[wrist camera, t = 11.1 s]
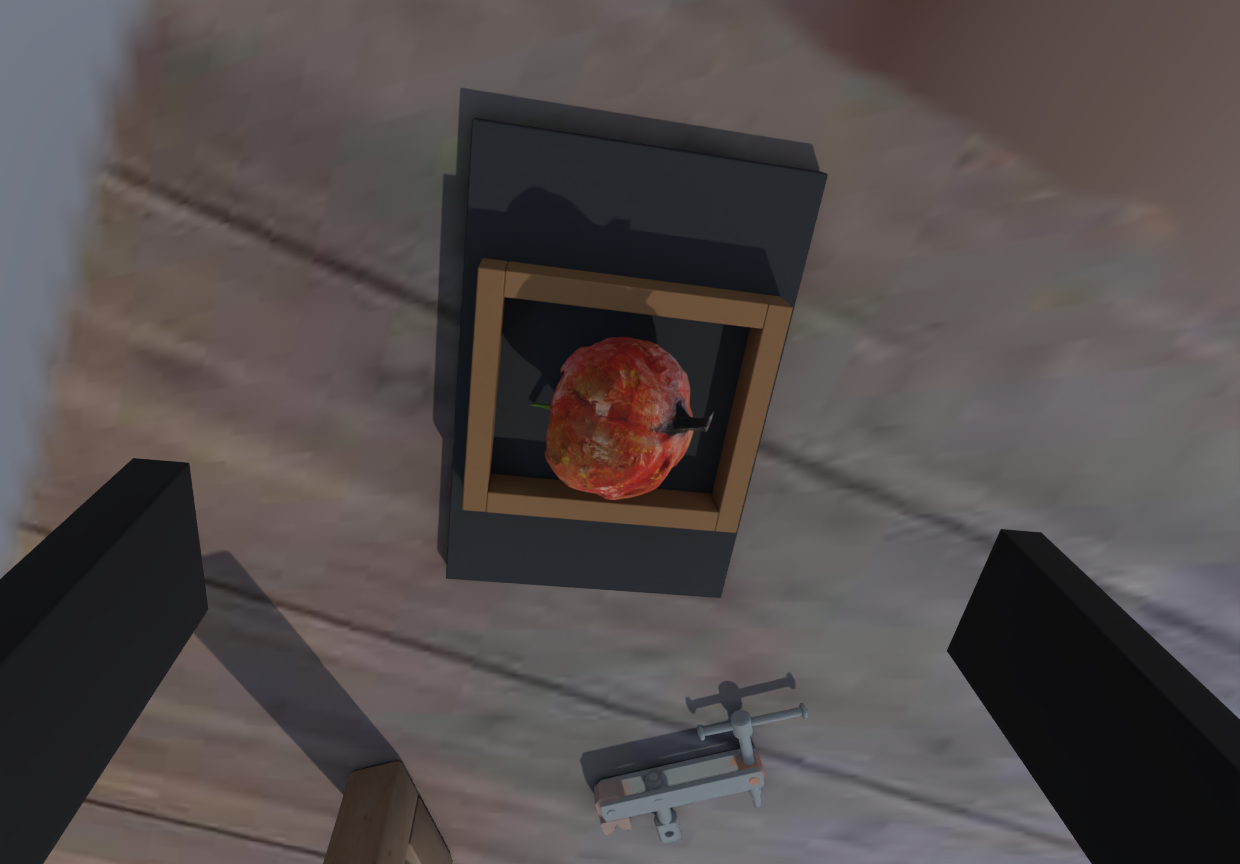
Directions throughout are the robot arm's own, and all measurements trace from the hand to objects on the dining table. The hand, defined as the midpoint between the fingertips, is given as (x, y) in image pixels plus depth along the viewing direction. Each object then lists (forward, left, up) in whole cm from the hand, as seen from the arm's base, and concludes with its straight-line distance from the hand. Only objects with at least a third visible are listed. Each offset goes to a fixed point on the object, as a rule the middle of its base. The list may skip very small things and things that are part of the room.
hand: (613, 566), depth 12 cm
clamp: (+34, +13, -25) cm, 44 cm away
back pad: (+7, +3, -25) cm, 26 cm away
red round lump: (+6, +2, -24) cm, 25 cm away
